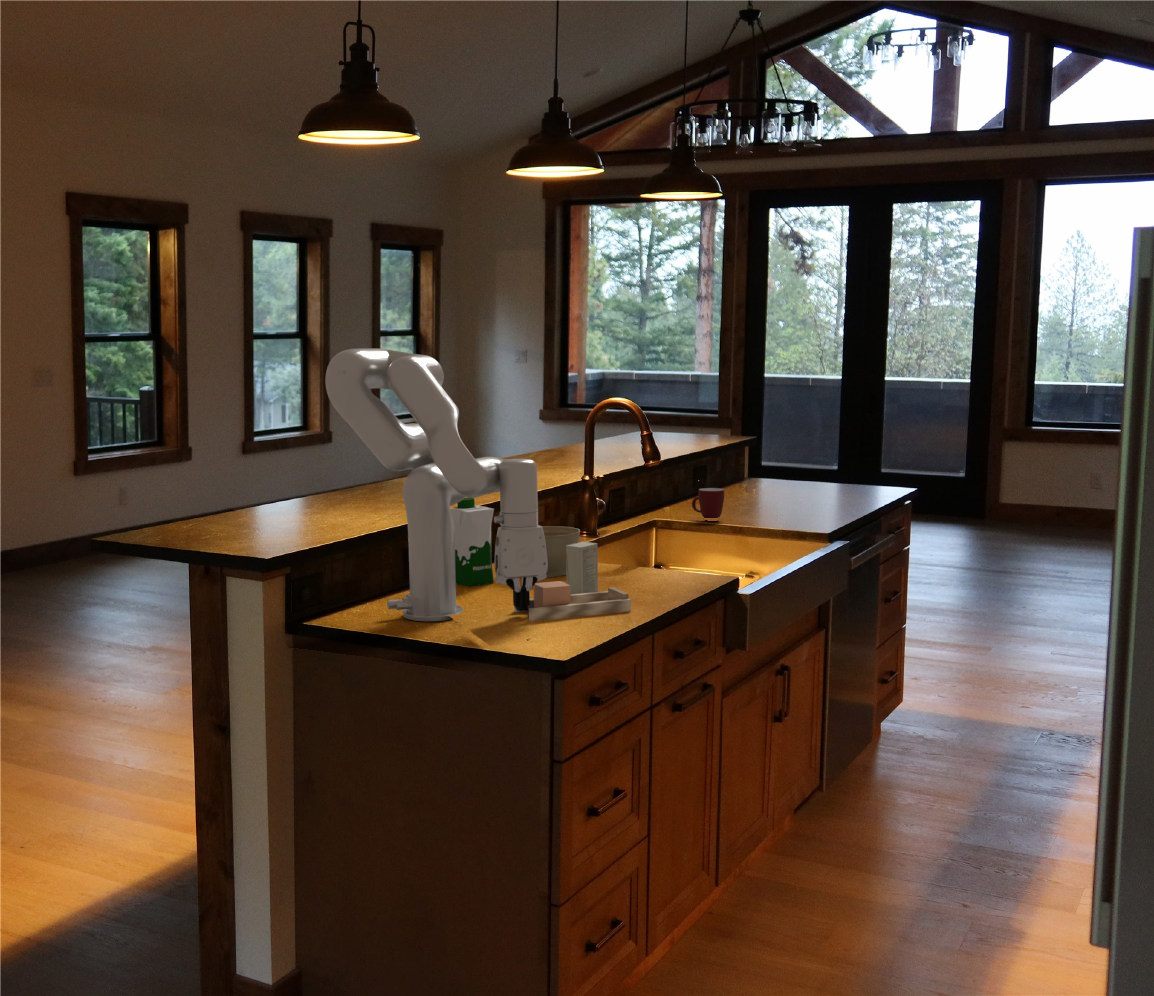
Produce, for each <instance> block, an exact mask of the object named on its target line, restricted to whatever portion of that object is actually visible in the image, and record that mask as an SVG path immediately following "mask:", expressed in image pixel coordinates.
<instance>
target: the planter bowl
mask: <svg viewBox="0 0 1154 996" xmlns="http://www.w3.org/2000/svg"><path fill="white" fill-rule="evenodd" d="M541 526H542V525H541ZM542 527H543V532H544V537H545V543H546V551H547V562H548V570H547V572H546V576H547V577H546V578H556V577H563V576H567V575H566V545H570V544H574V543H578V542H580V534H581V529H579V528H575V527H572V526H571V527H570V526H558V525H557V526H554V525H553V526H552V525H551V526H550V525H549V526H547V525H546V526H542Z"/></svg>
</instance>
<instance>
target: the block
mask: <svg viewBox="0 0 1154 996" xmlns="http://www.w3.org/2000/svg"><path fill="white" fill-rule="evenodd" d="M533 598H534V608H538V607H539V606H548V605H559V604H569V603H571V586H570V585H568V584H567V582H564V581H561V580H557V581H556V580H555V581H547V582H546V581H545V582H536V583H535V584H534V585H533Z"/></svg>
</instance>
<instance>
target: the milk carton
mask: <svg viewBox="0 0 1154 996" xmlns="http://www.w3.org/2000/svg"><path fill="white" fill-rule="evenodd" d="M456 504H457V505H456V506H455V507H450V511H451V515H452V519H453V524H454V537H455V575H456V585H459V586H462V587H467V588H475V587H480V586H488V585H492V584H494V583H495V579H494V572H493V571H494V570H493V562H492V558H493V557H492V523H493V518H494V511H495V508H491V507H488V506H482V505H475V504H476V502H475V498H468V497H465V498H464V499H463V500H462V501H460V502H458V503H456Z"/></svg>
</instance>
